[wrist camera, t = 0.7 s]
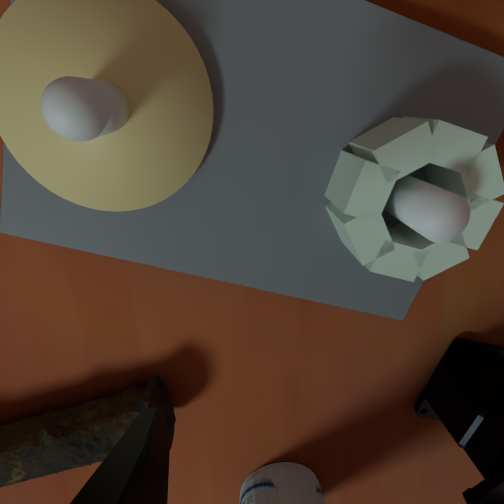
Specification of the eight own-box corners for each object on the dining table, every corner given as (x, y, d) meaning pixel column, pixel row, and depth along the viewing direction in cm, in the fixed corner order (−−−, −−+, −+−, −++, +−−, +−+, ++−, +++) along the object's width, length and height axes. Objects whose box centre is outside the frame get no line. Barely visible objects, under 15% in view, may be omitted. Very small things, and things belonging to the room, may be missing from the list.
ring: (483, 143, 18) (532, 152, 15) (421, 265, 20) (453, 292, 18) (359, 101, 16) (389, 102, 14) (308, 236, 19) (324, 260, 16)
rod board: (517, 70, 18) (655, 59, 12) (395, 311, 23) (453, 381, 17) (15, -132, 13) (-126, -294, 8) (-1, 223, 18) (-94, 278, 13)
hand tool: (163, 362, 23) (151, 423, 19) (180, 409, 24) (173, 474, 20) (-134, 428, 23) (-215, 504, 18) (-98, 470, 24) (-164, 550, 20)
